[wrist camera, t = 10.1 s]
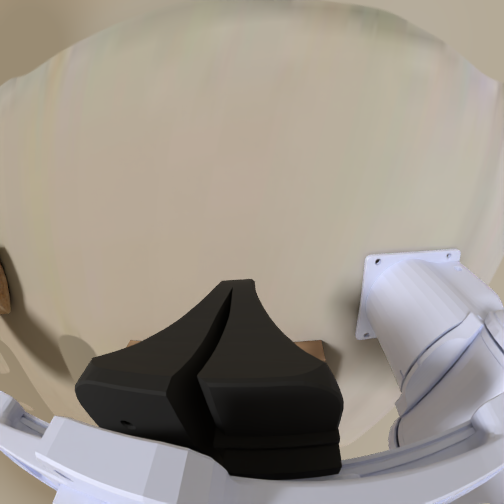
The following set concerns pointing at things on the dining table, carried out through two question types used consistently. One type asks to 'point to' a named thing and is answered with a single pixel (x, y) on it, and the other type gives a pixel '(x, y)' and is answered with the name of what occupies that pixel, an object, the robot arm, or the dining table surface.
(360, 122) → the dining table surface
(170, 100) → the dining table surface
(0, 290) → the stone cup
